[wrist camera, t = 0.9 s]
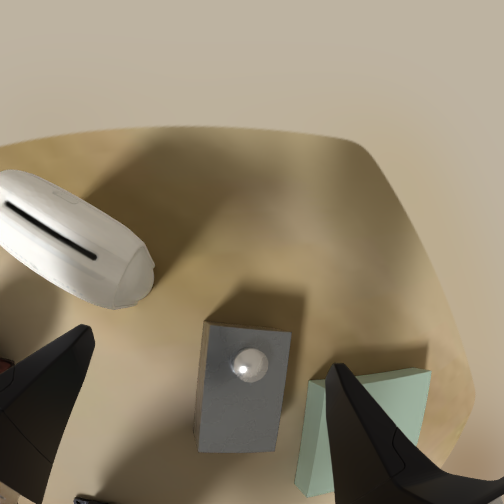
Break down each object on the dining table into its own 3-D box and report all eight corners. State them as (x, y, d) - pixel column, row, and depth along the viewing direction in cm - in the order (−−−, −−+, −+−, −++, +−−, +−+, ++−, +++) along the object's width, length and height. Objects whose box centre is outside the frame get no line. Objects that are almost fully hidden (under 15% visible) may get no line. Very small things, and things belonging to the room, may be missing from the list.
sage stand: (395, 455, 26) (411, 463, 23) (294, 483, 23) (306, 497, 20) (413, 367, 28) (431, 370, 26) (308, 380, 25) (324, 388, 22)
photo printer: (39, 254, 20) (-47, 217, 8) (62, 209, 21) (-6, 141, 9) (140, 313, 22) (111, 329, 10) (163, 264, 23) (158, 230, 11)
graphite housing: (259, 432, 23) (278, 455, 18) (192, 430, 22) (199, 457, 17) (272, 327, 25) (296, 333, 20) (203, 320, 23) (211, 326, 19)
